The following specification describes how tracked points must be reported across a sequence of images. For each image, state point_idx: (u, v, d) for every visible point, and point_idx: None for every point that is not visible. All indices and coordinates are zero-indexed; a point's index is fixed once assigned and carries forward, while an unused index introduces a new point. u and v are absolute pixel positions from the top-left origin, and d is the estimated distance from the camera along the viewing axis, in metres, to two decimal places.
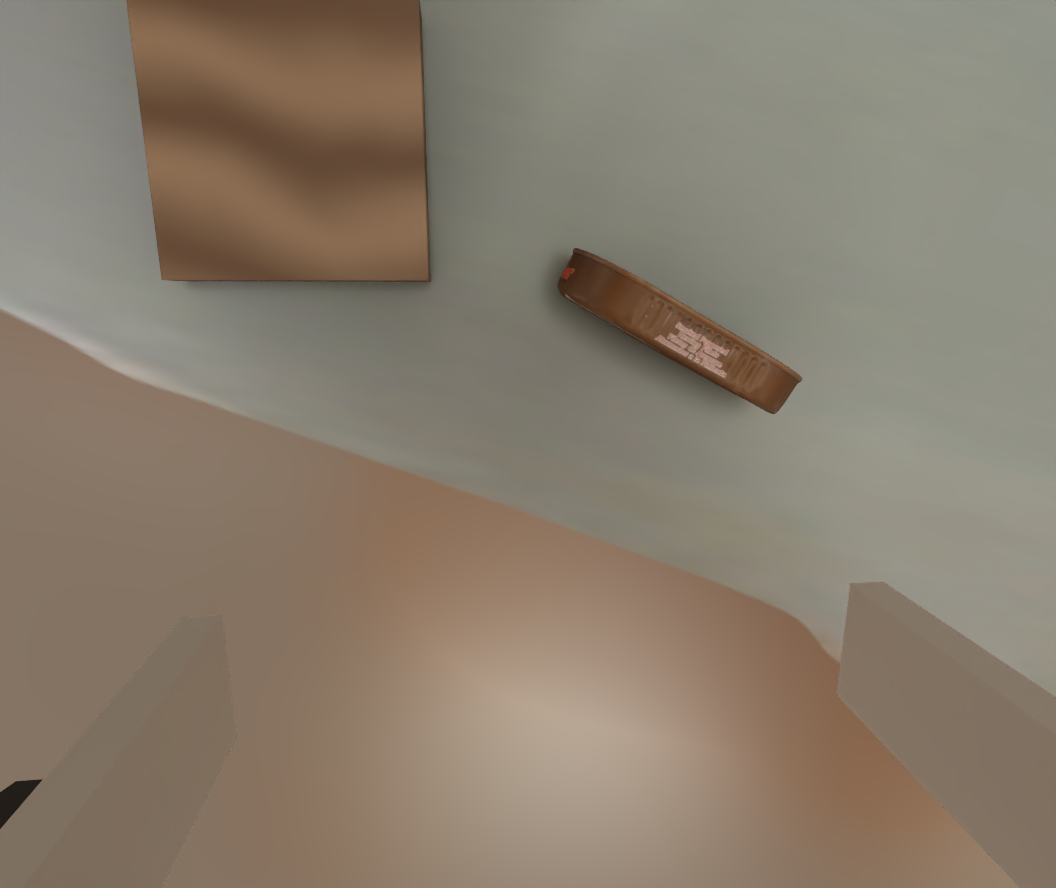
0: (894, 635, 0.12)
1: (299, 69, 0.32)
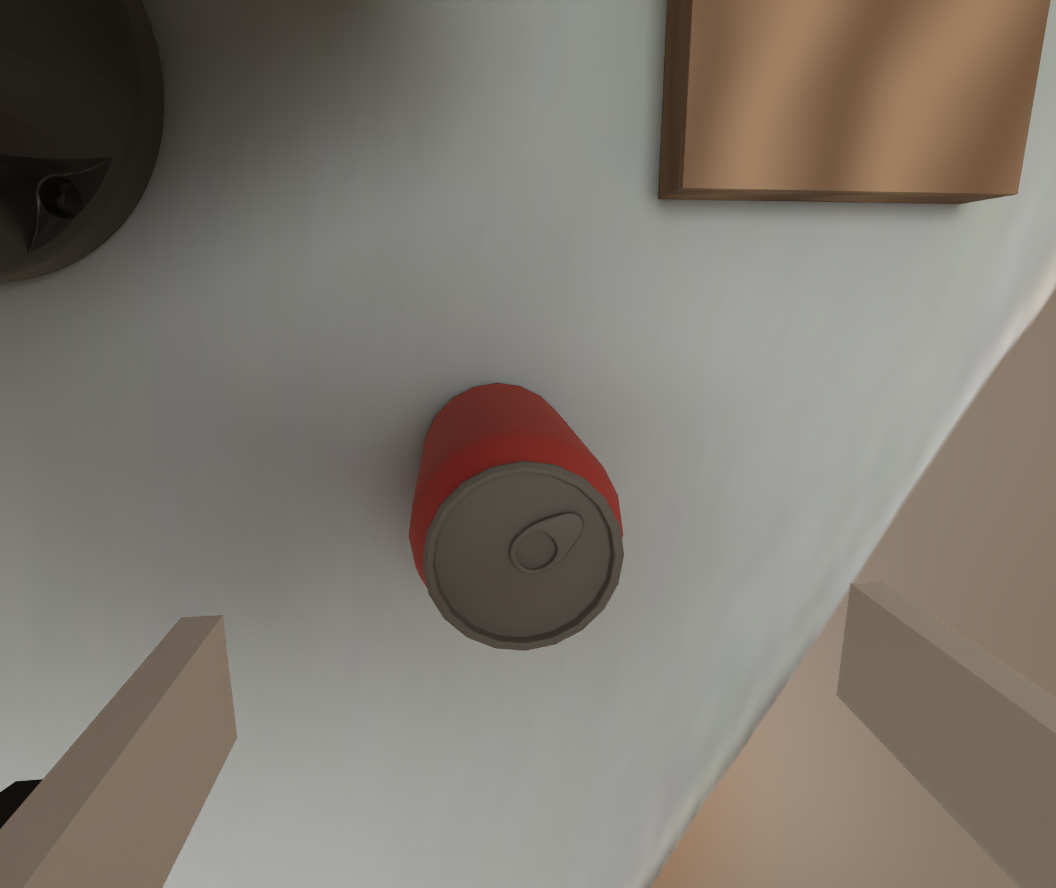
0: (894, 635, 0.12)
1: None
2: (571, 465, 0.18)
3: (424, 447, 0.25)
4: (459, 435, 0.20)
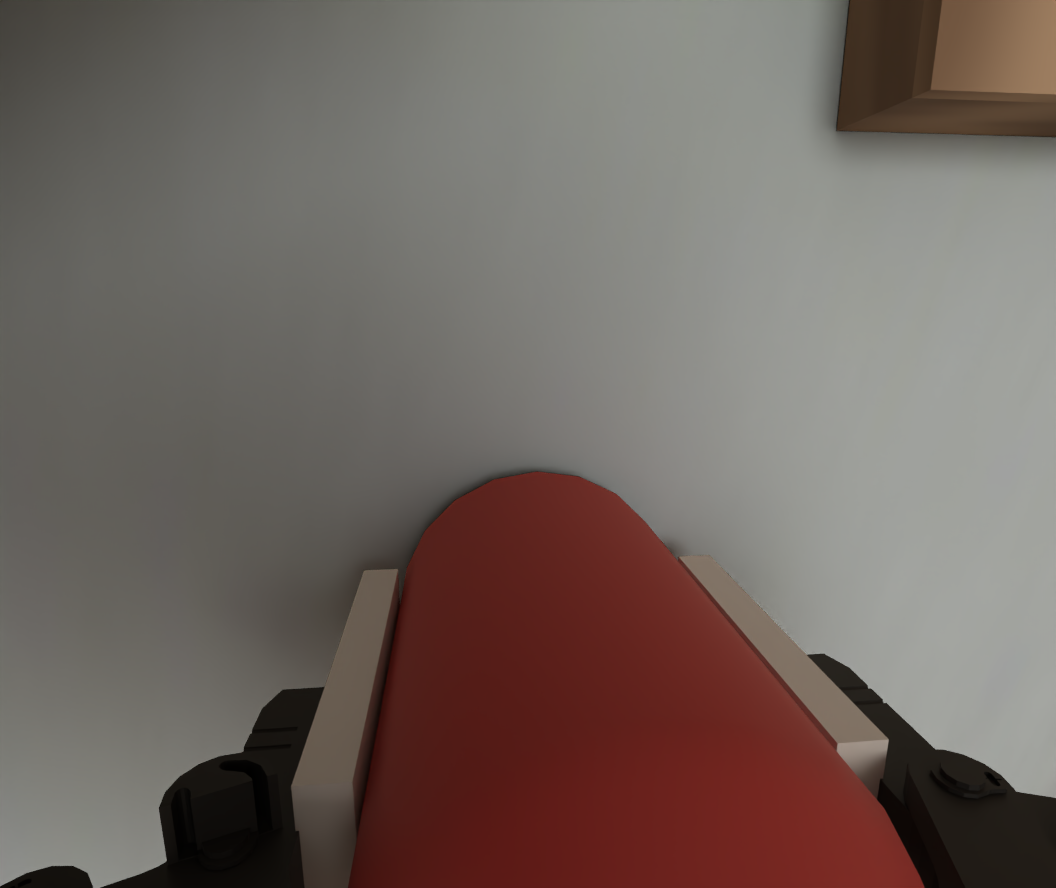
0: None
1: None
2: None
3: (400, 613, 0.13)
4: (475, 700, 0.07)
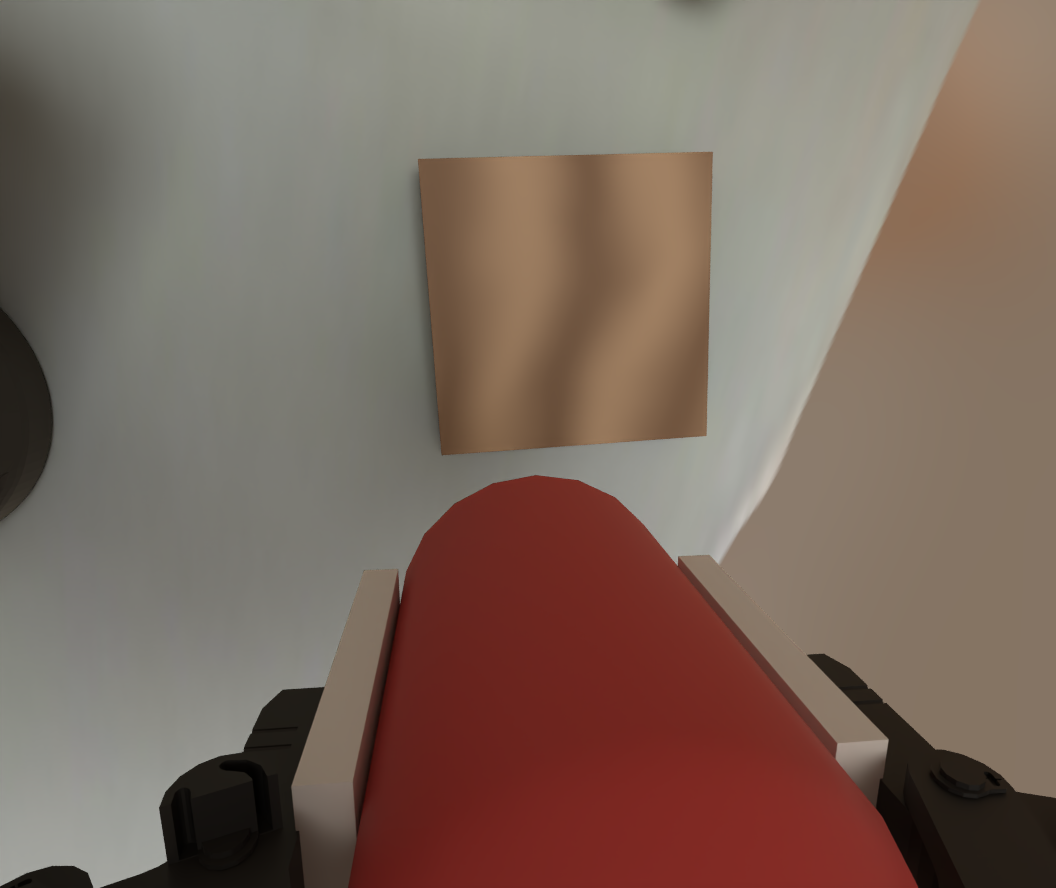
0: None
1: (504, 292, 0.31)
2: None
3: (399, 617, 0.13)
4: (474, 707, 0.07)
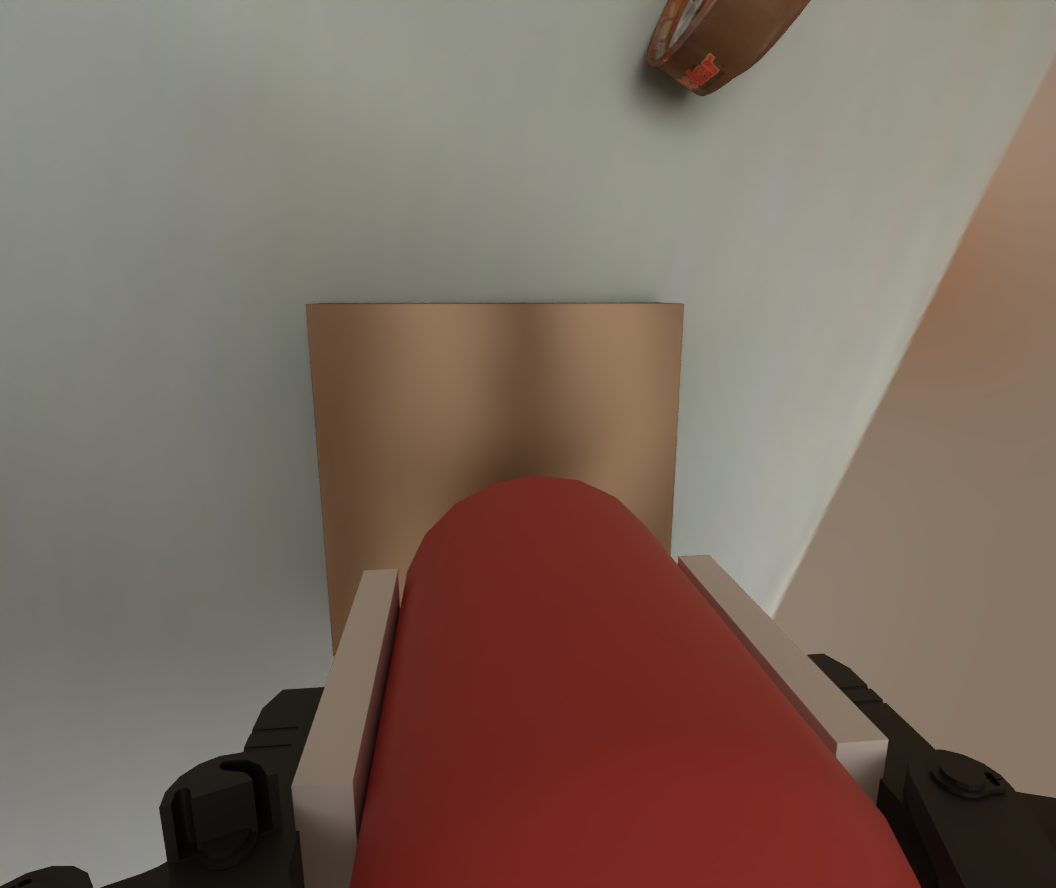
0: None
1: (416, 465, 0.25)
2: None
3: (400, 617, 0.13)
4: (475, 708, 0.07)
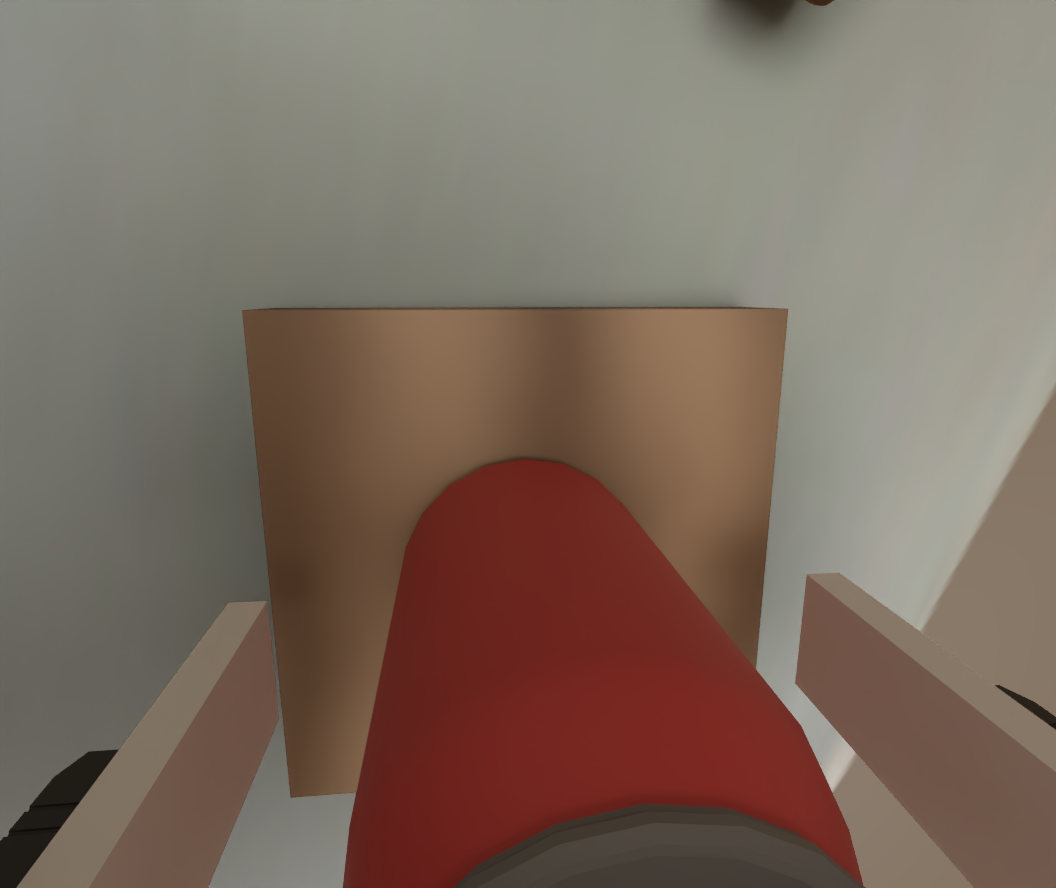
0: (844, 623, 0.13)
1: (405, 539, 0.17)
2: (761, 783, 0.07)
3: (399, 584, 0.14)
4: (462, 639, 0.09)
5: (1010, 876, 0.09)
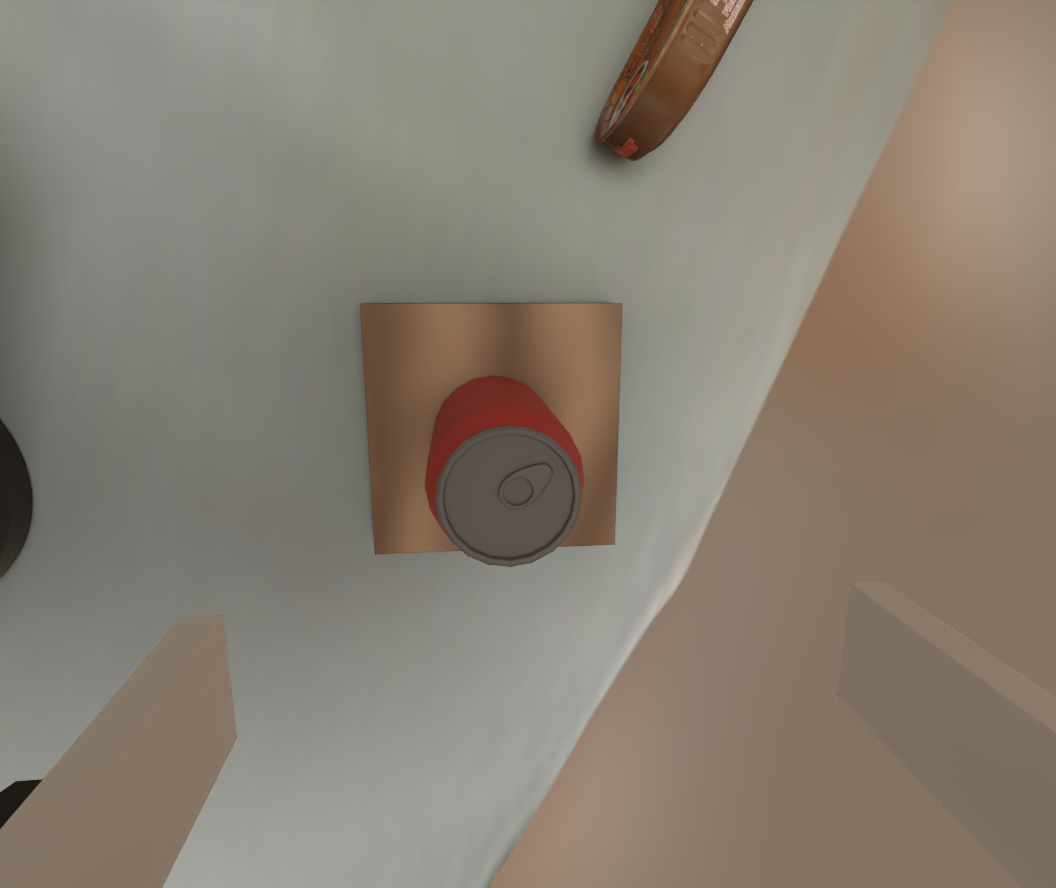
0: (894, 635, 0.12)
1: (434, 417, 0.35)
2: (543, 429, 0.24)
3: (434, 425, 0.32)
4: (462, 410, 0.27)
5: None
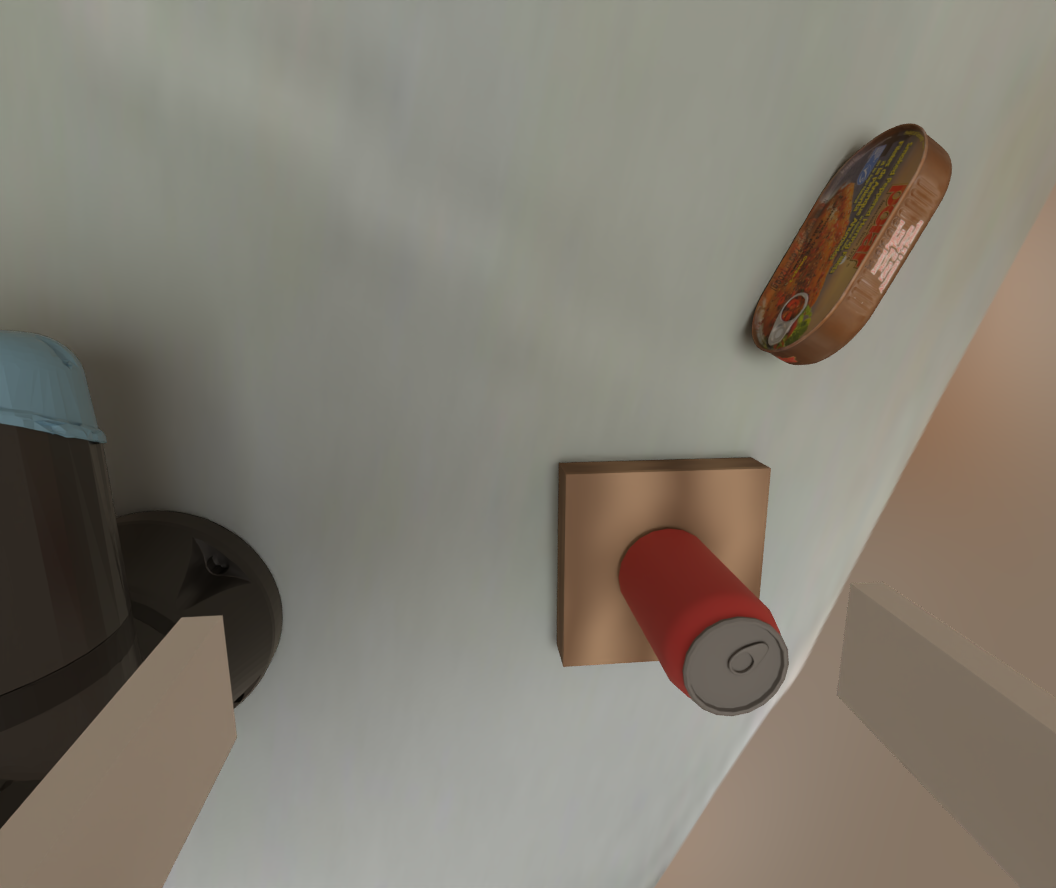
0: (894, 635, 0.12)
1: (617, 559, 0.43)
2: (760, 615, 0.33)
3: (632, 576, 0.40)
4: (684, 589, 0.35)
5: None
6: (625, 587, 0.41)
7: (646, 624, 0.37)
